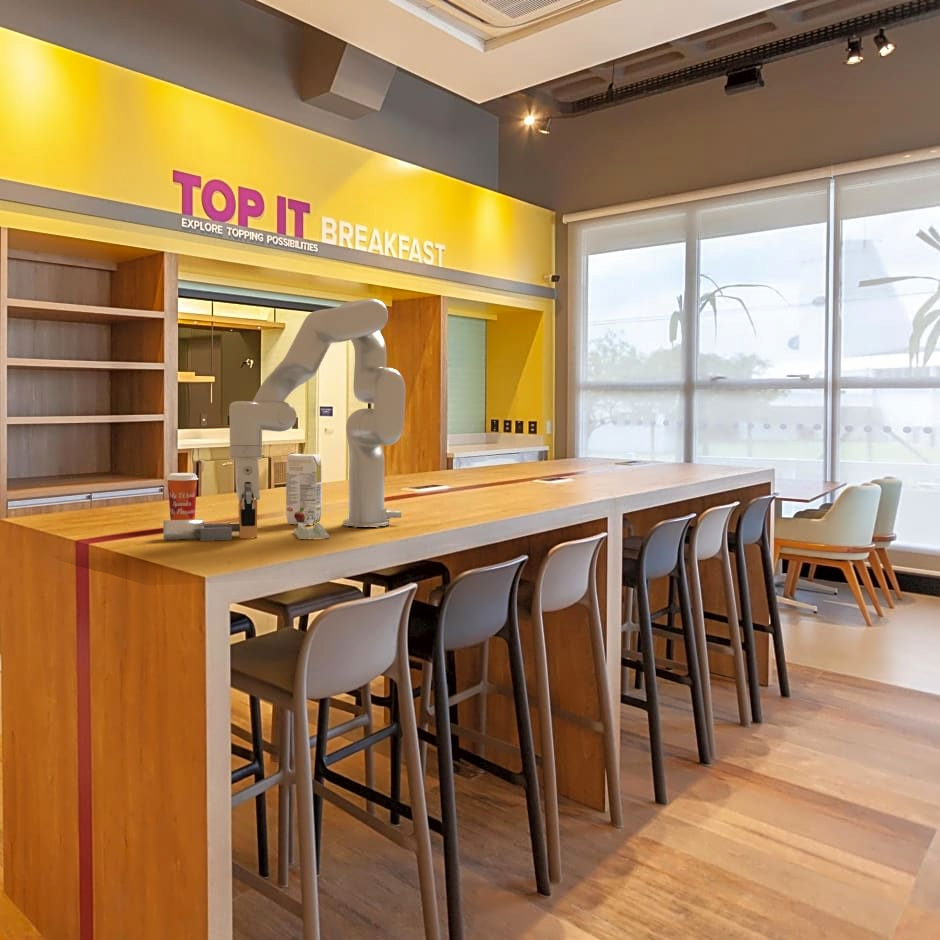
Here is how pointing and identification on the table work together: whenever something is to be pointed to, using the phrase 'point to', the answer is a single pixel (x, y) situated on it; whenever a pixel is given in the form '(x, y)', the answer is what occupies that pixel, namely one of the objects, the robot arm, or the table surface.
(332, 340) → the robot arm
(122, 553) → the table surface
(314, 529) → the cradle
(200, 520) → the axle
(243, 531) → the grey base tan upright
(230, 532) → the channel block
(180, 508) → the paper cup
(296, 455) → the juice carton
